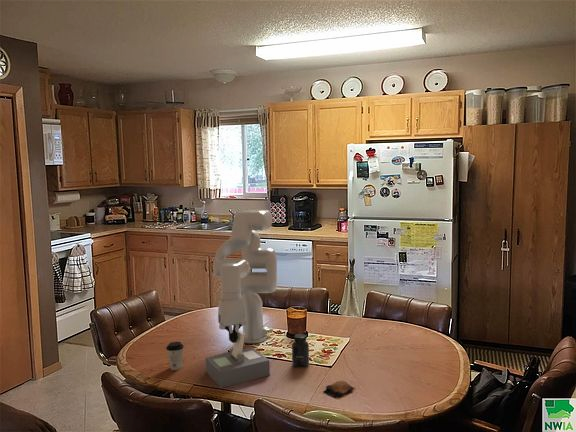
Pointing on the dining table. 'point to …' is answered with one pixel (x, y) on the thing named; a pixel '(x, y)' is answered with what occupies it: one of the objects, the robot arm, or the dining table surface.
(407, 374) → the dining table surface
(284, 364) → the dining table surface
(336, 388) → the bread roll
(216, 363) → the switch box
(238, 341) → the switch lever
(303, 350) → the supplement bottle
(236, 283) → the robot arm
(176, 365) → the coffee cup
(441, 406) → the dining table surface
